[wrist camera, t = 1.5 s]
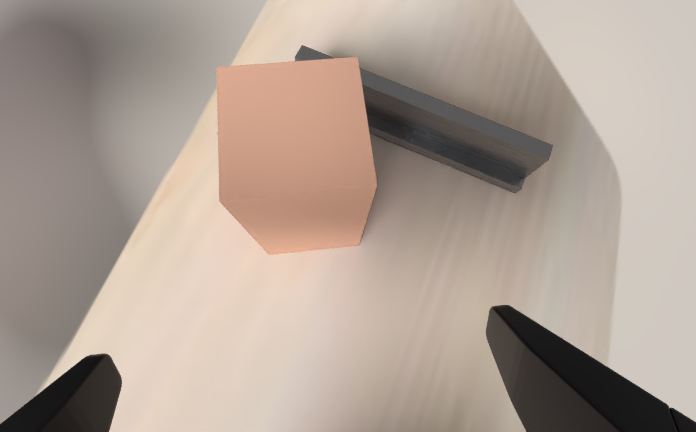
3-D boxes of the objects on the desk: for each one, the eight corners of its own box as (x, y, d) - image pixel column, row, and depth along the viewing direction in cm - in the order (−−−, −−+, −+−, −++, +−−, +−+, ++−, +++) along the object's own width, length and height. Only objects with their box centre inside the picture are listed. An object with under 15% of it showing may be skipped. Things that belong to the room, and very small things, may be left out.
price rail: (515, 193, 24) (544, 171, 20) (295, 101, 25) (288, 67, 22) (524, 166, 24) (554, 141, 21) (308, 78, 26) (304, 41, 22)
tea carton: (359, 245, 22) (377, 185, 13) (269, 255, 22) (219, 201, 13) (348, 161, 24) (357, 53, 14) (264, 169, 24) (216, 63, 14)
